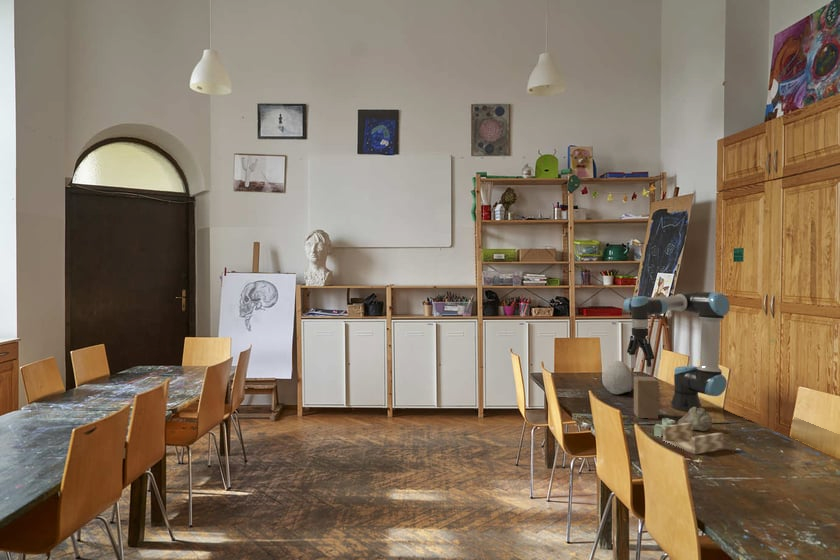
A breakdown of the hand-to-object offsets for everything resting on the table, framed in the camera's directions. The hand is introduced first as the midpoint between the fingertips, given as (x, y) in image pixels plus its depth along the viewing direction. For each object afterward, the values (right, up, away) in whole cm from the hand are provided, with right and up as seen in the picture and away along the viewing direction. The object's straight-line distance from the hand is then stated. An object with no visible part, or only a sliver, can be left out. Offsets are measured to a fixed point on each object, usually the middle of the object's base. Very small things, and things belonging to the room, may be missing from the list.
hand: (640, 370), depth 253 cm
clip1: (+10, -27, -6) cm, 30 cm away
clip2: (+2, -28, -15) cm, 32 cm away
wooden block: (+10, -27, +16) cm, 33 cm away
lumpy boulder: (+24, -28, -6) cm, 37 cm away
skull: (+16, -26, +68) cm, 75 cm away
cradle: (+11, -28, -28) cm, 41 cm away
